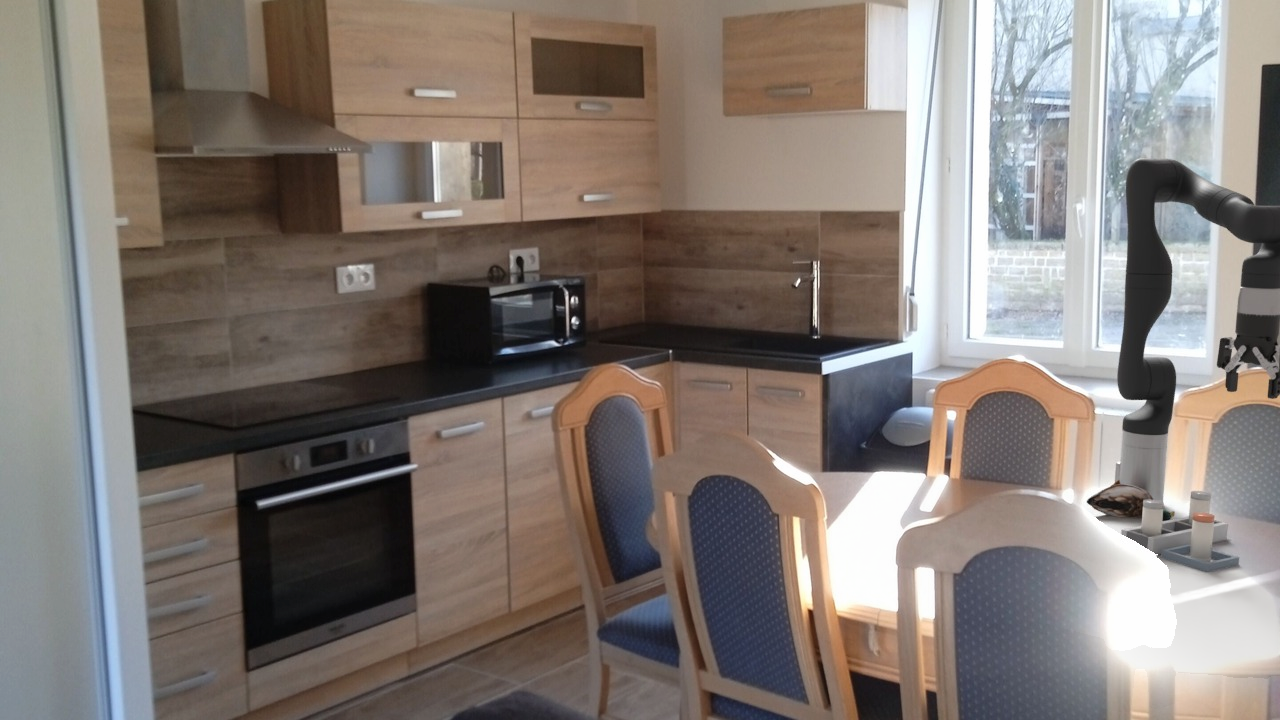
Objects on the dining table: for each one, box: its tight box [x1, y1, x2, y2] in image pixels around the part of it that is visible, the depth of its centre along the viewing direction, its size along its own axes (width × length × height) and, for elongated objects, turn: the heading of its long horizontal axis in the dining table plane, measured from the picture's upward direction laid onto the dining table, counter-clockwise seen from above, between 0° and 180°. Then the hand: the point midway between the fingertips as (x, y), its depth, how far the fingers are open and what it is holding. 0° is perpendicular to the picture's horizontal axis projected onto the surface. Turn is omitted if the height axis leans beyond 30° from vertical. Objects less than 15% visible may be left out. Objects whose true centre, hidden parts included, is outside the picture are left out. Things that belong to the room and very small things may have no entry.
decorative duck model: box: [1086, 480, 1175, 521], centre depth 259 cm, size 15×8×15 cm
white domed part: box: [1188, 490, 1212, 525], centre depth 245 cm, size 4×4×9 cm
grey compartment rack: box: [1120, 515, 1231, 557], centre depth 242 cm, size 8×23×4 cm, turn 120°
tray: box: [1160, 544, 1240, 573], centre depth 230 cm, size 10×9×3 cm
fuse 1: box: [1140, 499, 1165, 537], centre depth 238 cm, size 4×4×9 cm
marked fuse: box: [1189, 512, 1215, 563], centre depth 229 cm, size 4×4×9 cm
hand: (1251, 394), depth 240 cm, fingers open, 8 cm apart
